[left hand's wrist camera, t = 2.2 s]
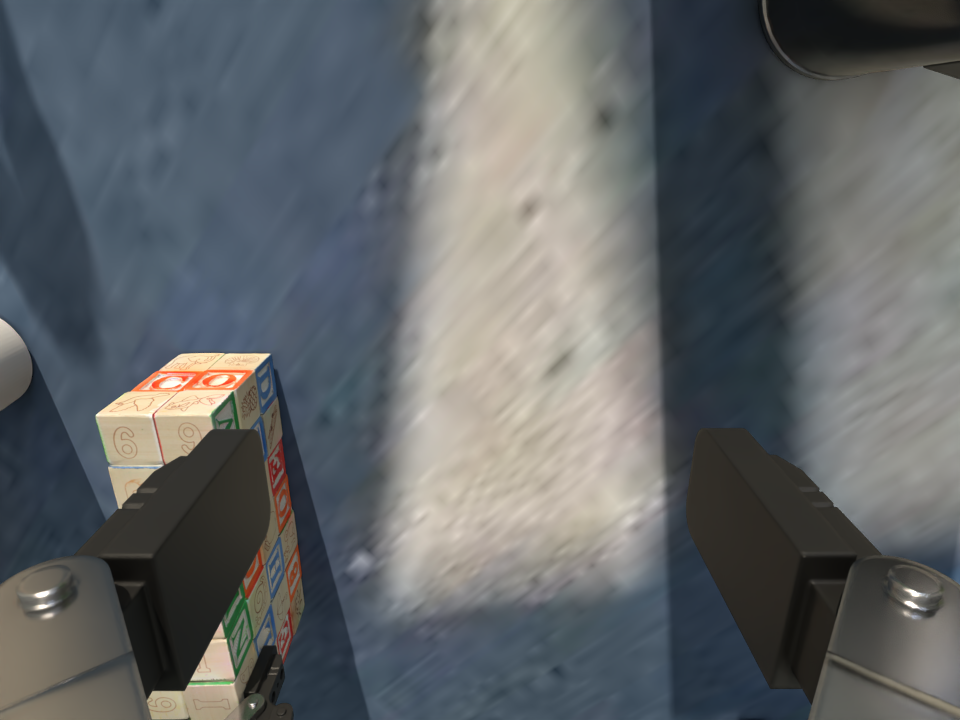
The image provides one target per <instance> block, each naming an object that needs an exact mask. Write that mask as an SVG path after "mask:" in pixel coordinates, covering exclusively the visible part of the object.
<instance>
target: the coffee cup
mask: <svg viewBox="0 0 960 720" xmlns="http://www.w3.org/2000/svg"><path fill="white" fill-rule="evenodd" d="M31 379H32V361H31V357H30V354H29V351H28V349H27V347H26V345H25V343H24V342H23V340H22V339H21V337H20V336H19V335H18V333H17V332H16V331H15V330H14V329H13V328H12V327H11V326H10V325H9V324H7V323H6V322H5V321H3V320H2V319H0V411H1V410H3V409H4V408H6V407H7V406H8V405H10V404H11V403H13V402H14V401H15V400H17V399H18V398H19V397H21V396H22V395H23V394H24V393H25V391H26V390H27V389H28V387H29V385H30V382H31Z"/></svg>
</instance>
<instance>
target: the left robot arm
mask: <svg viewBox="0 0 960 720" xmlns="http://www.w3.org/2000/svg"><path fill="white" fill-rule="evenodd" d="M758 8H759V16H760V21H761V26H762V29H763V32H764V35H765V37H766V39H767V41H768V43H769V45H770V47H771V49H772V50H773V51H774V53H775V54H776V55H777V57H778V58H779V59H780V60H781V61H782V62H783V63H784V64H786V65H787V66H788V67H789V68H791V69H792V70H794V71H796V72H798V73H799V74H801V75H804V76H807V77H810V78H814V79H820V80H841V79H848V78H853V77H857V76H861V75H864V74H868V73H875V72H883V71H891V70H898V69H905V68H912V67H918V66H923V67H924V68H926V69H929V70H933V71H936V72H939V73H942V74H945V75H948V76H951V77H955V78H958V79H960V0H758ZM270 515H271V504H270V496H269V490H268V483H267V476H266V469H265V462H264V455H263V448H262V442H261V438H260V435H259V433H258V432H257V431H256V430H255V429H212V430H210V431H209V432H208V433H207V434H206V435H205V437H204V438H203V439H202V440H201V441H200V442H199V443H198V444H197V445H196V447H195V448H194V449H193V450H192V451H191V452H190V453H189V454H188V455H187V456H179V457H178V458H176V459H174V460H173V461H171V462H169V463H167V464H166V465H164V466H162V467H161V468H159V469H157V470H155V471H154V472H153V473H152V474H151V475H150V476H149V477H148V478H147V479H146V480H145V481H144V482H143V483H142V484H141V485H140V486H139V488H138V489H137V492H136V493H133V494H132V495H131V496H130V497H129V498H128V499H127V500H126V501H125V502H124V503H123V504H122V509H117V511H116V512H115V513H114V514H113V515H112V516H111V517H110V518H109V519H108V520H107V521H106V522H105V523H104V524H103V525H102V526H101V527H100V528H99V529H98V530H97V531H96V533H95V534H94V535H93V536H92V537H91V538H90V539H89V540H88V541H87V542H86V543H85V544H84V545H83V546H82V547H81V548H80V549H79V550H78V551H77V552H76V553H75V554H74V556H66V557H61V558H56V559H52V560H49V561H46V562H43V563H40V564H37V565H35V566H32V567H30V568H28V569H26V570H23V571H21V572H20V573H18V574H16V575H14V576H12V577H11V578H9V579H8V580H6V581H5V582H3V583H2V584H1V585H0V720H152V718H151V714H150V710H149V707H148V703H147V700H148V698H149V696H150V695H151V693H152V691H185V690H186V688H187V686H188V684H189V682H190V680H191V678H192V676H193V675H194V673H195V671H196V669H197V667H198V665H199V663H200V661H201V659H202V657H203V656H204V654H205V652H206V650H207V648H208V646H209V644H210V642H211V640H212V638H213V637H214V635H215V633H216V631H217V629H218V627H219V625H220V623H221V621H222V619H223V618H224V616H225V614H226V612H227V610H228V608H229V606H230V604H231V602H232V600H233V599H234V597H235V595H236V593H237V591H238V589H239V587H240V585H241V583H242V581H243V580H244V578H245V576H246V574H247V572H248V570H249V568H250V566H251V564H252V562H253V561H254V559H255V557H256V555H257V553H258V551H259V549H260V547H261V545H262V543H263V542H264V540H265V537H266V535H267V532H268V528H269V524H270ZM686 516H687V523H688V528H689V532H690V534H691V537H692V539H693V541H694V543H695V545H696V547H697V549H698V550H699V552H700V554H701V556H702V558H703V560H704V562H705V564H706V566H707V568H708V570H709V572H710V574H711V575H712V577H713V579H714V581H715V583H716V585H717V587H718V589H719V591H720V593H721V595H722V597H723V598H724V600H725V602H726V604H727V606H728V608H729V610H730V612H731V614H732V616H733V618H734V620H735V622H736V623H737V625H738V627H739V629H740V631H741V633H742V635H743V637H744V639H745V641H746V643H747V645H748V647H749V648H750V650H751V652H752V654H753V656H754V658H755V660H756V662H757V664H758V666H759V668H760V670H761V672H762V673H763V675H764V677H765V679H766V681H767V683H768V685H769V687H770V689H803V691H804V693H805V694H806V696H807V698H808V700H809V701H810V703H811V705H812V707H811V710H810V714H809V718H808V720H960V585H959V584H958V583H957V582H955V581H954V580H952V579H951V578H949V577H948V576H946V575H944V574H942V573H940V572H939V571H937V570H934V569H932V568H930V567H928V566H925V565H923V564H920V563H917V562H914V561H911V560H908V559H904V558H899V557H894V556H886V555H882V554H881V553H880V552H879V551H878V550H877V549H876V548H875V547H874V546H873V545H872V544H871V542H870V541H869V540H868V539H867V538H866V537H865V536H864V535H863V534H862V533H861V532H860V531H859V530H858V529H857V528H856V527H855V526H854V525H853V523H852V522H851V521H850V520H849V519H848V518H847V517H846V516H845V515H844V514H843V513H842V512H841V511H840V510H839V509H838V508H837V507H834V506H833V502H832V501H831V500H830V499H829V498H828V497H827V496H826V495H825V494H824V493H823V492H819V488H818V487H817V485H816V484H815V483H814V482H813V481H812V480H811V479H810V478H809V477H808V476H807V475H806V474H805V473H804V472H803V471H802V470H801V469H799V468H797V467H796V466H794V465H792V464H791V463H789V462H787V461H785V460H784V459H782V458H780V457H779V456H777V455H769V454H768V453H767V452H766V451H765V450H764V449H763V448H762V447H761V445H760V444H759V443H758V442H757V441H756V440H755V439H754V438H753V436H752V435H751V434H750V433H749V432H748V431H747V430H746V429H744V428H702V429H700V430H699V432H698V433H697V436H696V439H695V445H694V452H693V459H692V466H691V473H690V480H689V487H688V494H687V502H686Z"/></svg>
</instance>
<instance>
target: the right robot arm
mask: <svg viewBox="0 0 960 720" xmlns="http://www.w3.org/2000/svg"><path fill="white" fill-rule="evenodd" d="M284 679H285V675H284V667H283V661H282V654H278V652H277V647H276V645H264V646H263V648H262V650H261V652H260V655H259V657H258V659H257V662H256V664H255V667H254V669H253V671H252V674H251V676H250V678H249V681H248V683H247V685H246V688H245V690H244V692H243V693H244V700H243V701H242V702H241V703H240V704H239V705H238V706H237V707H236V708H235V709H234V710H233V711H232V712H231V713H230V714H229V715H228V716H227V717H226V718H225V719H224V720H293V717H294V714H293V708H292V706H291V705H290V704H288V703H281V704H279V705H277V706H276V705H275V704H276V701H277V698H278V695H279V693H280V690H281V687H282V684H283V682H284Z"/></svg>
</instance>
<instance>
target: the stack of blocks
mask: <svg viewBox="0 0 960 720" xmlns="http://www.w3.org/2000/svg"><path fill="white" fill-rule="evenodd" d="M96 423H97V425H98V429H99V433H100V436H101V440H102V443H103V447H104V451H105V455H106V458H107V461H108V463H109V464H110V465H109V467H108V468H109V474H110V477H111V481H112V485H113V489H114V492H115V496H116V499H117V503H118V507H119V509H122V504H123V503H124V502H125V501H126V500H127V499H128V498H129V497H130V496H131V495H132V494H133V493H136V492H137V489H138V488H139V486H140V485H141V484H142V483H143V482H144V481H145V480H146V479H147V478H148V477H149V476H150V475H151V474H152V473H153V472H154V471H155V470H157V469H159V468H161V467H162V466H164V465H166V464H167V463H169V462H171V461H173V460H174V459H176V458H178V457H179V456H187V455H188V454H189V453H190V452H191V451H192V450H193V449H194V448H195V447H196V445H197V444H198V443H199V442H200V441H201V440H202V439H203V438H204V437H205V435H206V434H207V433H208V432H209V431H210V430H212V429H255V430H256V431H257V432H258V433H259V435H260V438H261V442H262V448H263V455H264V462H265V469H266V476H267V483H268V490H269V496H270V504H271V515H270V524H269V528H268V532H267V535H266V537H265V540H264V542H263V543H262V545H261V547H260V549H259V551H258V553H257V555H256V557H255V559H254V561H253V562H252V564H251V566H250V568H249V570H248V572H247V574H246V576H245V578H244V580H243V581H242V583H241V585H240V587H239V589H238V591H237V593H236V595H235V597H234V599H233V600H232V602H231V604H230V606H229V608H228V610H227V612H226V614H225V616H224V618H223V619H222V621H221V623H220V625H219V627H218V629H217V631H216V633H215V635H214V637H213V638H212V640H211V642H210V644H209V646H208V648H207V650H206V652H205V654H204V656H203V657H202V659H201V661H200V663H199V665H198V667H197V669H196V671H195V673H194V675H193V676H192V678H191V680H190V682H189V684H188V686H187V688H186V690H185V691H152V693H151V695H150V696H149V698H148V700H147V703H148V707H149V710H150V714H151V718H152V720H224V719H225V718H226V717H227V716H228V715H229V714H230V713H231V712H232V711H233V710H234V709H235V708H236V707H237V706H238V705H239V704H240V703H241V702H242V701H243V700H244V693H243V692H244V690H245V688H246V685H247V683H248V681H249V678H250V676H251V674H252V671H253V669H254V667H255V664H256V662H257V659H258V657H259V655H260V652H261V650H262V648H263V646H264V645H276V647H277V652H278V654H282V661H283V664H284V661H285V659H286V656H287V653H288V650H289V647H290V644H291V641H292V638H293V636H294V635H295V633H296V631H297V628H298V625H299V622H300V619H301V615H302V612H303V610H304V606H305V603H304V596H303V588H302V580H301V576H302V571H301V564H300V556H299V549H298V544H297V531H296V524H295V517H294V511H293V510H292V507H291V499H290V491H289V484H288V476H287V474H286V468H285V459H284V452H283V445H282V439H281V437H282V434H283V433H282V426H281V419H280V410H279V402H278V398H277V391H276V383H275V376H274V368H273V361H272V356H271V354H224V353H193V354H181V355H179V356H177V357H176V358H174V359H173V360H172V361H170V362H169V363H168V364H167V365H165V366H164V367H163V368H162V369H160V370H159V371H157V372H155V373H153V374H152V375H151V376H150V377H148V378H147V379H146V380H144V381H143V382H142V383H140V384H139V385H138V386H137V387H135V388H134V389H133V390H132V391H131V392H127V393H125V394H123V395H122V396H121V397H119V398H118V399H117V400H115V401H114V402H113V403H111V404H110V405H108V406H107V407H106V408H104V409H103V410H102V411H100V412H99V413H98V414H97V415H96Z"/></svg>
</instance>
